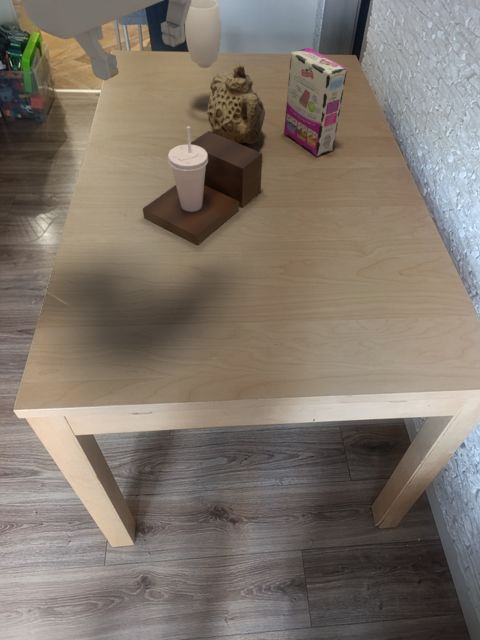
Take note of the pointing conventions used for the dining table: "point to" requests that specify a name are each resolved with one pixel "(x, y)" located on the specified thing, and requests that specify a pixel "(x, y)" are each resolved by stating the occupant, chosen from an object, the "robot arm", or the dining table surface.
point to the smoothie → (189, 173)
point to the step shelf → (212, 190)
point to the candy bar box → (314, 100)
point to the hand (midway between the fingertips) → (142, 59)
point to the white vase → (203, 32)
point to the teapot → (235, 107)
